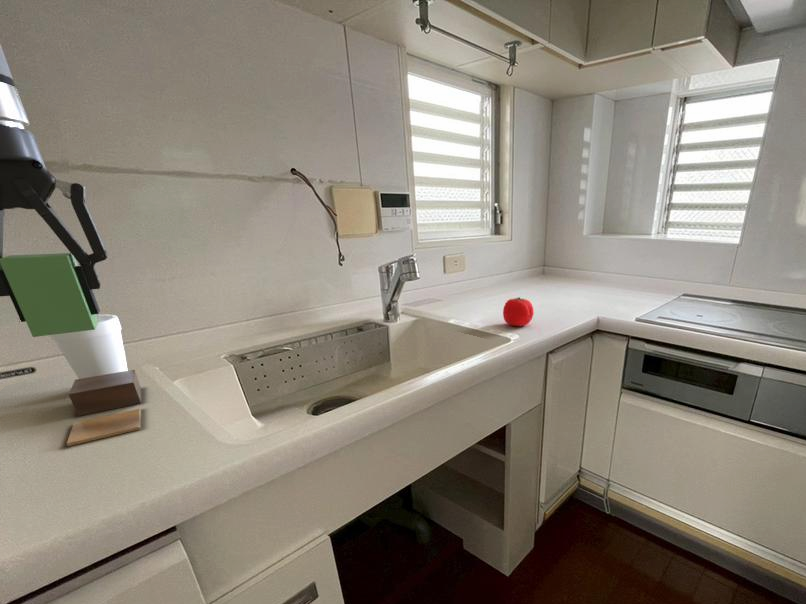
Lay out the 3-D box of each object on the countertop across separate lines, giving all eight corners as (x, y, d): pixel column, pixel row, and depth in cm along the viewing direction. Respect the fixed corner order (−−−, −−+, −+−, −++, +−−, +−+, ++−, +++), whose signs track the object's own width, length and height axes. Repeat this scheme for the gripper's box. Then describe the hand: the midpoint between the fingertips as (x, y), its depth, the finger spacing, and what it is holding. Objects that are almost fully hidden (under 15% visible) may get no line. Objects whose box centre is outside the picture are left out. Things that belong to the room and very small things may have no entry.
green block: (41, 328, 57) (10, 255, 54) (98, 321, 61) (73, 252, 57) (32, 337, 53) (-2, 258, 49) (95, 329, 56) (66, 255, 53)
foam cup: (151, 379, 81) (129, 316, 76) (97, 398, 73) (69, 328, 68) (117, 374, 83) (94, 313, 78) (61, 392, 75) (32, 324, 70)
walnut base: (83, 400, 72) (74, 379, 70) (141, 389, 76) (134, 369, 75) (77, 416, 66) (68, 394, 65) (141, 403, 71) (133, 382, 69)
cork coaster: (74, 425, 63) (73, 422, 63) (140, 411, 68) (139, 408, 68) (67, 446, 57) (66, 443, 57) (140, 429, 62) (139, 426, 62)
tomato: (506, 329, 118) (506, 301, 115) (499, 321, 127) (499, 294, 124) (536, 328, 120) (537, 300, 116) (527, 320, 129) (528, 294, 126)
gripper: (-174, 105, 39) (-55, 333, 48) (91, 130, 51) (150, 311, 59) (-136, 118, 45) (-35, 321, 53) (97, 138, 56) (150, 303, 64)
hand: (62, 315), depth 56 cm, fingers closed on green block, 6 cm apart
